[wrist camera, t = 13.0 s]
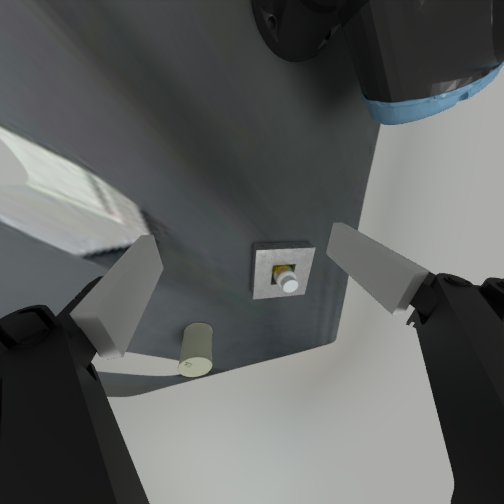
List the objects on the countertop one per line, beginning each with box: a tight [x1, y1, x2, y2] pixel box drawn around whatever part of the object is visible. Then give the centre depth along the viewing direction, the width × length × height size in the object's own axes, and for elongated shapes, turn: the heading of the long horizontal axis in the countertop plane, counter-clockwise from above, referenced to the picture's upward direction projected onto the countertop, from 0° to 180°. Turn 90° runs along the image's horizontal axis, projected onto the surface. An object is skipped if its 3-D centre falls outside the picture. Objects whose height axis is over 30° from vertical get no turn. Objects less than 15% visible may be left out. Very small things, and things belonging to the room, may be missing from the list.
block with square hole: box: [251, 241, 315, 299], centre depth 51 cm, size 16×16×4 cm
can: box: [178, 322, 213, 377], centre depth 54 cm, size 9×9×12 cm
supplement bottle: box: [272, 265, 298, 293], centre depth 48 cm, size 5×5×10 cm
